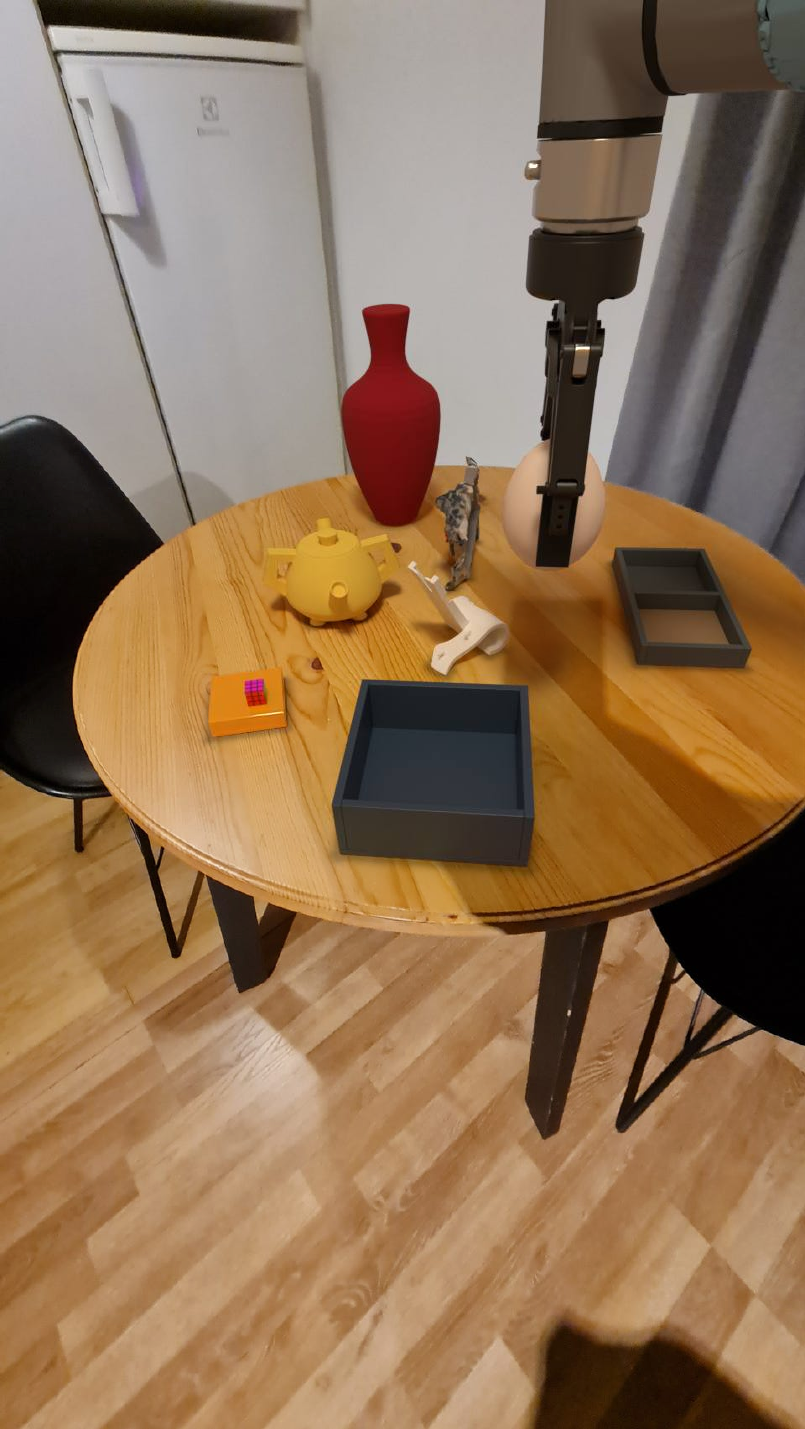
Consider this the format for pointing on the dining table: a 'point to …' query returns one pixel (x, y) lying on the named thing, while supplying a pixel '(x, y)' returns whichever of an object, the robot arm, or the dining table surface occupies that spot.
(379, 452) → the vase
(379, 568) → the teapot
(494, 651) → the plastic part
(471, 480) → the grey mottled flat piece
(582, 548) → the egg
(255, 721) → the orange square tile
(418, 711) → the tub
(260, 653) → the dining table surface
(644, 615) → the tray
